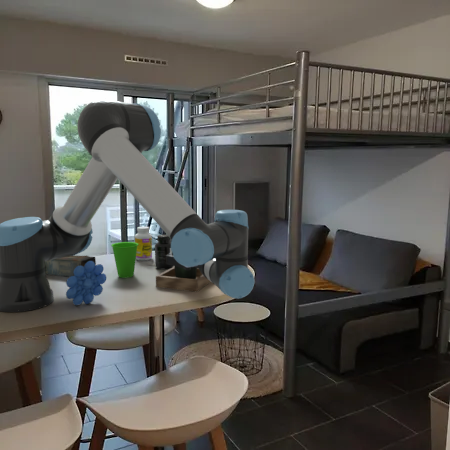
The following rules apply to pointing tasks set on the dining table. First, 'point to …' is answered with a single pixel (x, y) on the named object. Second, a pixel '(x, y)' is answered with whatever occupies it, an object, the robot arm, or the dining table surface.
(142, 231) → the supplement bottle
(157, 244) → the supplement bottle
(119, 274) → the cup
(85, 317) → the dining table surface
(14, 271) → the robot arm
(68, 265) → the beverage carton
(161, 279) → the walnut tray
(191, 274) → the potion bottle
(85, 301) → the grapes
